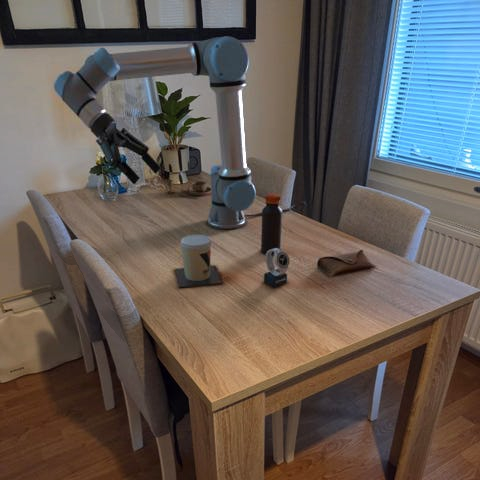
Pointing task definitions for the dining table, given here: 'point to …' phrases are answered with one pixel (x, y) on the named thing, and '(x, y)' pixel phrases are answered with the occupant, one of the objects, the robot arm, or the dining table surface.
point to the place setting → (194, 188)
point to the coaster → (185, 282)
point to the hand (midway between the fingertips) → (148, 175)
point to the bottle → (271, 223)
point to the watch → (278, 275)
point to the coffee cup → (196, 256)
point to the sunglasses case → (344, 263)
